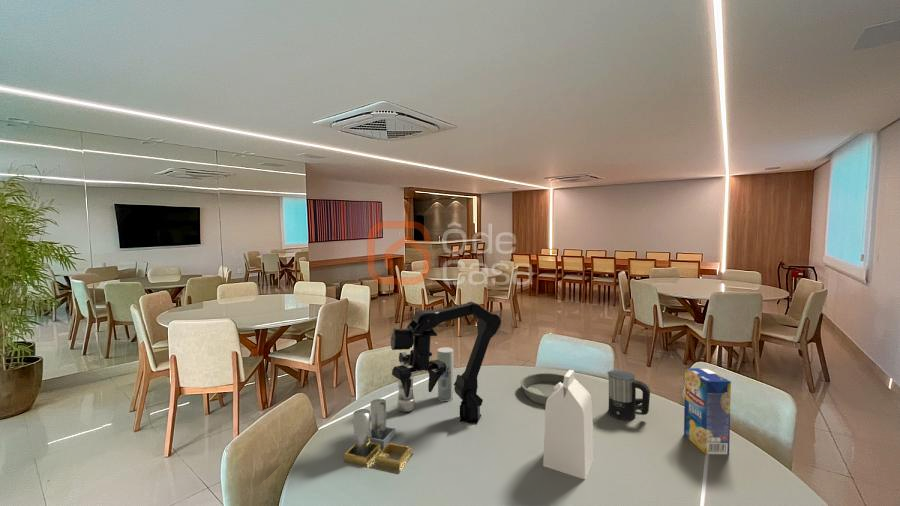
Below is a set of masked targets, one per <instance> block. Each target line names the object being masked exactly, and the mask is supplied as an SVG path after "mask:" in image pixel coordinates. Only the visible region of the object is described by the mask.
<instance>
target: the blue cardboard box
mask: <svg viewBox="0 0 900 506" xmlns="http://www.w3.org/2000/svg"><path fill="white" fill-rule="evenodd" d="M731 387H732V381H730V380H729V379H727V378H725V377H723V376H721V375H720V374H718V373H717V372H714V371H712V370H710V369H709V368H707V367H705V368H704V367H696V368H695V367H693V368H692V367H688V368H687V367H685V368H684V407H683V408H684V412H683V413H684V414H683V415H684V417H683V419H684V420H683V422H684V423H683V435H684V436H685V437H686V438H688V440H689V441H691V442H692V444H694V445H695V446H696V447H697V448H698V449H699V450H701V452H702V453H704V454H705V455H730V439H731V438H730V434H731V433H730V430H731V429H730V428H731V394H732V391H731V389H732V388H731Z"/></svg>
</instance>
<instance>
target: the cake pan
mask: <svg viewBox="0 0 900 506" xmlns="http://www.w3.org/2000/svg"><path fill="white" fill-rule="evenodd" d="M564 376H565V375H564V374H558V373H553V372H552V373H549V372H540V373H539V372H538V373H532V374H528V375H526V376H524V377H523V378H522V379H521V380H520V385H521V387H522V389H523V390H524V394H525V396H526V397H527V398H528V399H530V400H531V401H533V402H535V403H539V404H542V405H545V406H546V401H547V399H548V398H549V396H550V395H551V394H552V393H553V391H554V390H555V389H554V387H555V386H556V385H557V384H558V383H559V382H561V383H563V382H564ZM528 388H533V389H537V390H539V392H541V393H542V394H541V393H537V392H535V391H532V390H529V389H528Z"/></svg>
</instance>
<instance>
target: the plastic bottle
mask: <svg viewBox="0 0 900 506" xmlns="http://www.w3.org/2000/svg"><path fill="white" fill-rule="evenodd" d="M399 364H400V365H399V366H401V365H404V366H406V367H407V368H411V367H412V366H409V365H408V363H407V364H404V362H400V361H399ZM414 374H415V373H412V374H411V377H410V379H412V380H411V386H410V392H409V396H408V397H406V396H405V393H404V389H403V386H402V383H401V381H400V380H399V379H398V378H397V386H398V394H397V395H398V398H397V404H396V405H397V408H398V411H400V412H403V413H407V412H412V411H413V410H414V408H416V407H415V406H416V400H415V397H414V396H415V395H414V376H415V375H414Z"/></svg>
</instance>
